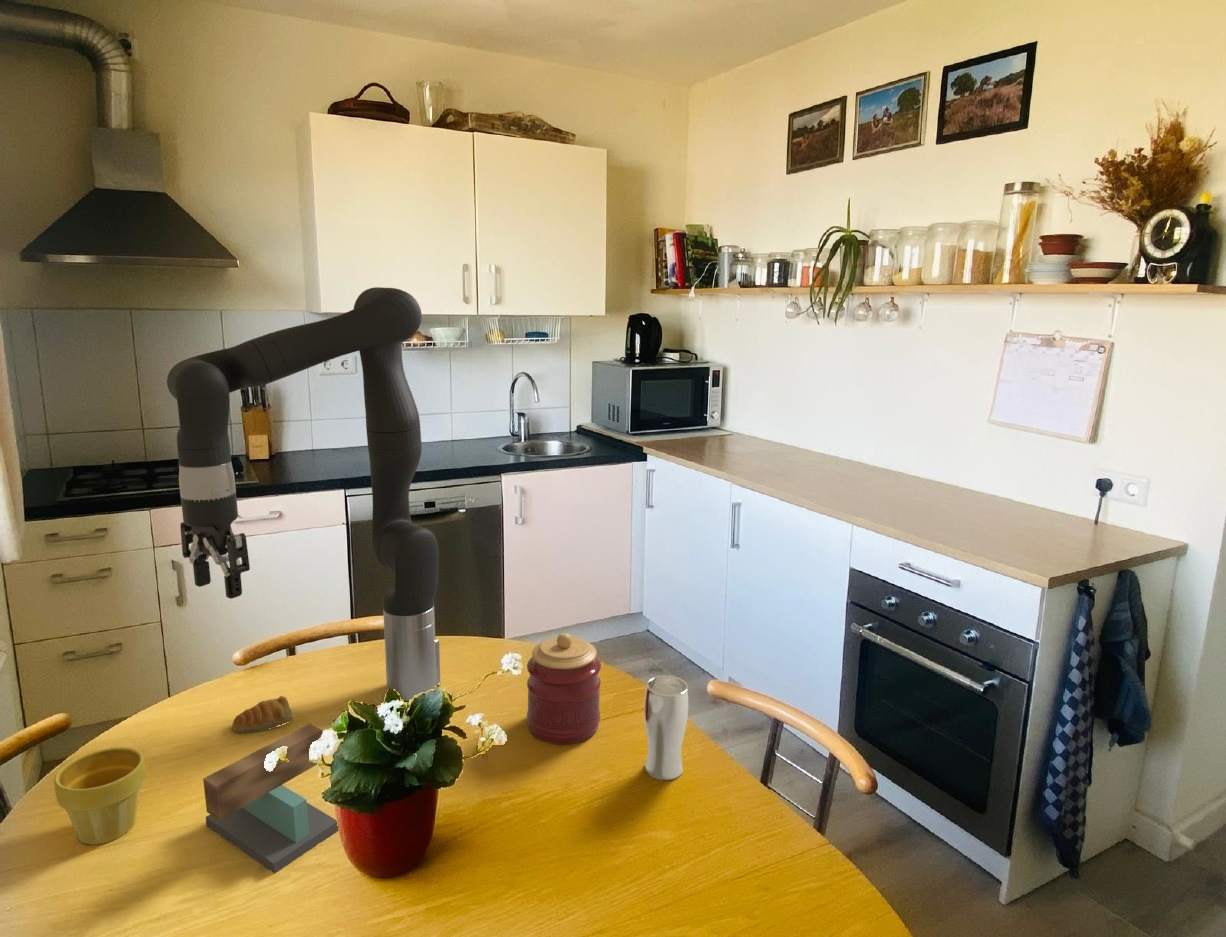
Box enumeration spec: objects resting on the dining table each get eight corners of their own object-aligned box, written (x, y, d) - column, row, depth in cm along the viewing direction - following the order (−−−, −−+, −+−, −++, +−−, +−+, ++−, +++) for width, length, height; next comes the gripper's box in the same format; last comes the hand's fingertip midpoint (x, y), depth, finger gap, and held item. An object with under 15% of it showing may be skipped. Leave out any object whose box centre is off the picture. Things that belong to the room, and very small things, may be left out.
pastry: (238, 741, 128) (236, 721, 127) (229, 723, 133) (227, 704, 133) (295, 723, 134) (294, 703, 133) (285, 707, 139) (283, 688, 138)
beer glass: (662, 788, 118) (666, 701, 115) (633, 766, 124) (636, 683, 120) (694, 771, 123) (698, 687, 119) (664, 751, 128) (668, 670, 125)
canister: (598, 747, 129) (600, 652, 125) (522, 745, 129) (521, 649, 125) (601, 707, 141) (603, 619, 137) (531, 704, 142) (531, 617, 138)
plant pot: (157, 798, 113) (150, 739, 111) (143, 844, 104) (134, 781, 102) (75, 813, 110) (66, 753, 107) (53, 862, 100) (42, 797, 98)
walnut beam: (311, 753, 113) (309, 723, 112) (324, 760, 112) (322, 729, 111) (206, 811, 100) (203, 778, 99) (219, 820, 99) (216, 786, 98)
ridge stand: (270, 789, 116) (267, 748, 114) (338, 830, 107) (335, 786, 106) (206, 825, 108) (201, 782, 106) (274, 873, 99) (270, 827, 98)
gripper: (259, 493, 115) (267, 593, 119) (205, 480, 123) (215, 574, 126) (211, 504, 109) (221, 609, 113) (158, 489, 116) (169, 588, 120)
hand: (218, 590), depth 120 cm, fingers open, 8 cm apart
